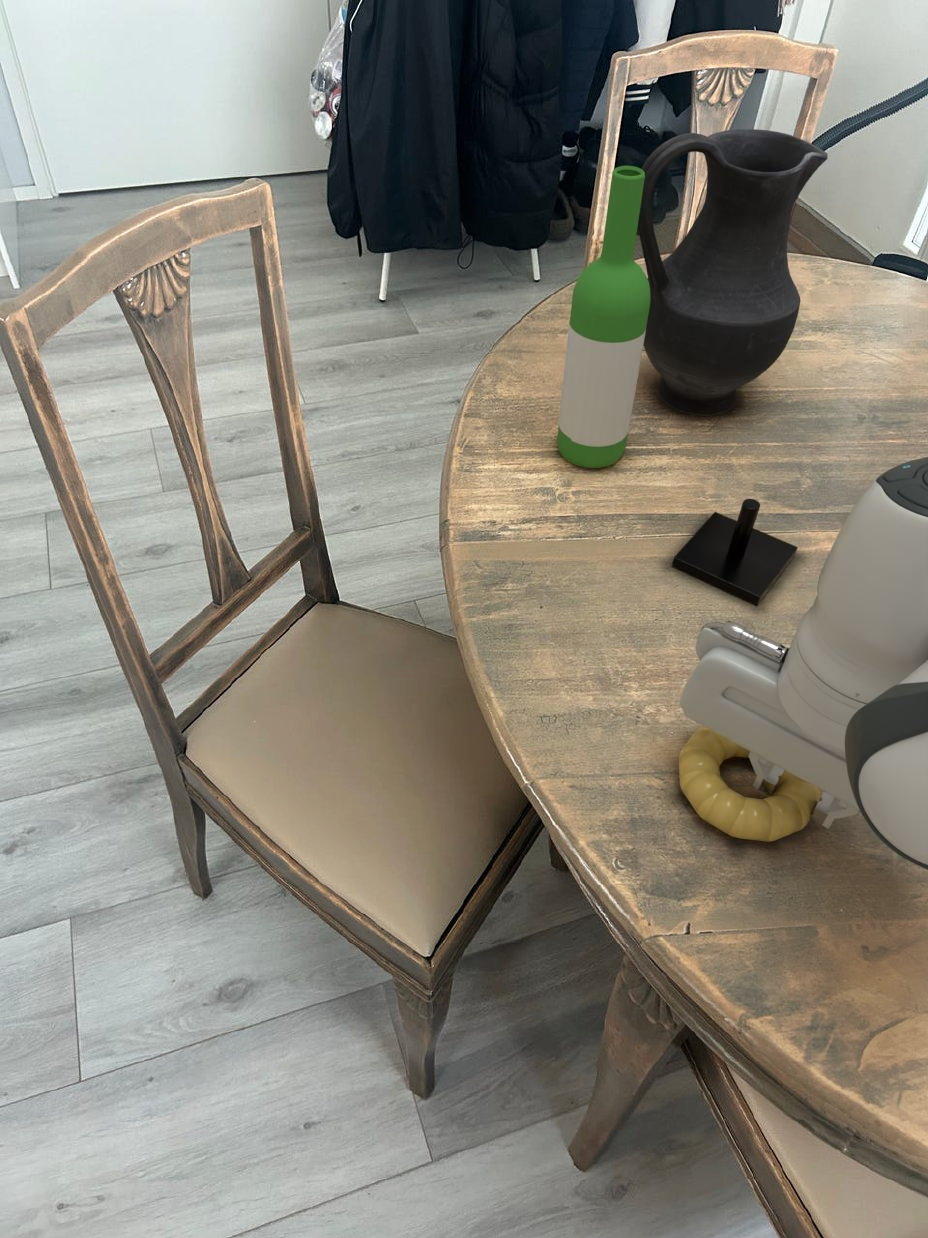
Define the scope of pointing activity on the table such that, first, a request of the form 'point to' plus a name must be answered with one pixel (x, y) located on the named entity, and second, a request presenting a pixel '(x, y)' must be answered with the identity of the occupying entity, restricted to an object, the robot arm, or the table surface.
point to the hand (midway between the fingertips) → (793, 801)
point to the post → (736, 555)
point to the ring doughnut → (731, 808)
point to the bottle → (606, 336)
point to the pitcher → (725, 267)
